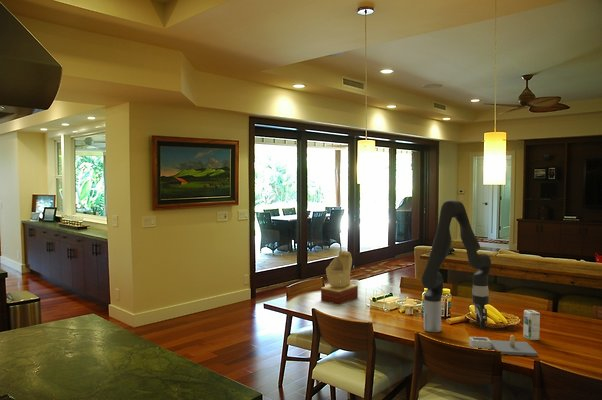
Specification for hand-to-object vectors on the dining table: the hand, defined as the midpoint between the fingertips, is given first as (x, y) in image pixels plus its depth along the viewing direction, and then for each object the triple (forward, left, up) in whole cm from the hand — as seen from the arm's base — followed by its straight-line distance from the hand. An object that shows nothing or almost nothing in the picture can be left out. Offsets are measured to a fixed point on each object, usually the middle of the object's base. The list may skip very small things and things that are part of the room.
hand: (480, 325), depth 215 cm
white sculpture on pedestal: (-76, +83, -11) cm, 113 cm away
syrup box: (+30, +17, -11) cm, 36 cm away
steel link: (0, 0, -11) cm, 11 cm away
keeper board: (+15, -1, -11) cm, 18 cm away
